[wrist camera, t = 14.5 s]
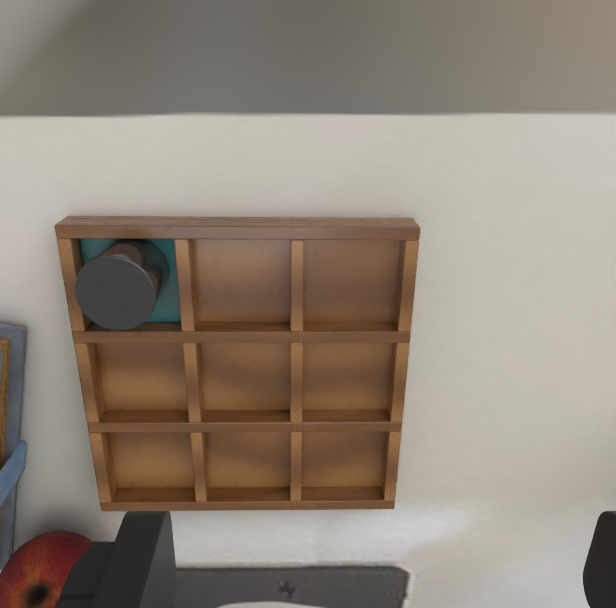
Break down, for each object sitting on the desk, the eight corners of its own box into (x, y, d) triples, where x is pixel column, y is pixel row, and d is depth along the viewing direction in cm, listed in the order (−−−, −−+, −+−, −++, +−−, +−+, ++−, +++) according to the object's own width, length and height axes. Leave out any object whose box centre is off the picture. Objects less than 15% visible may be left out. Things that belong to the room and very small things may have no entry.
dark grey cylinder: (93, 234, 34) (69, 255, 30) (167, 235, 34) (153, 257, 31) (101, 302, 36) (79, 330, 32) (172, 303, 36) (158, 331, 32)
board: (67, 215, 34) (54, 224, 32) (413, 218, 35) (420, 227, 33) (110, 491, 43) (101, 511, 41) (389, 489, 43) (394, 509, 41)
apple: (128, 520, 44) (95, 613, 36) (112, 591, 47) (79, 690, 39) (29, 500, 43) (-26, 591, 35) (19, 574, 46) (-34, 673, 38)
